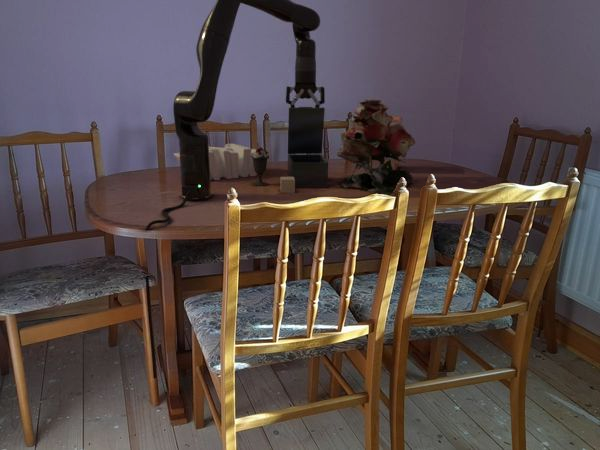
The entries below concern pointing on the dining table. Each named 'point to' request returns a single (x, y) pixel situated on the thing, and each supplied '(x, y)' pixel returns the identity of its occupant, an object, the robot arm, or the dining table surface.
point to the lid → (305, 130)
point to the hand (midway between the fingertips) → (304, 115)
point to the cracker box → (394, 162)
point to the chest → (308, 170)
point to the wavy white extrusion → (229, 161)
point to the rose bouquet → (375, 148)
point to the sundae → (260, 164)
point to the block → (287, 184)
